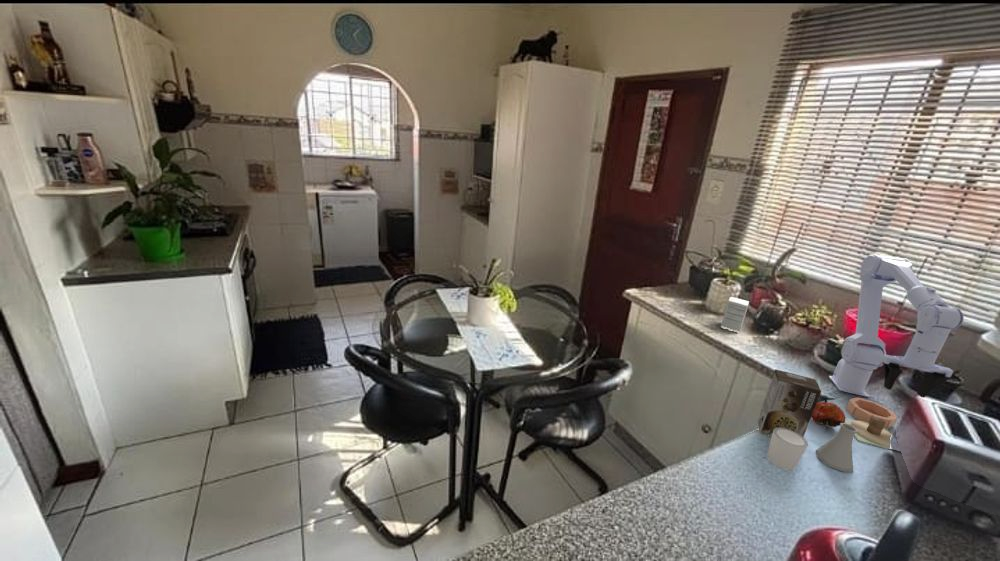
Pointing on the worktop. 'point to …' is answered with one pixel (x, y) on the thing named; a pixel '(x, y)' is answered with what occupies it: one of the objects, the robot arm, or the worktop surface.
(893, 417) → the dish
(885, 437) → the lid
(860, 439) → the mat
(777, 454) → the white cylinder
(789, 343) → the worktop surface
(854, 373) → the robot arm
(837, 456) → the flask
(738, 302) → the supplement box
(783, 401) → the coffee box
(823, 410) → the pomegranate
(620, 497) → the worktop surface
